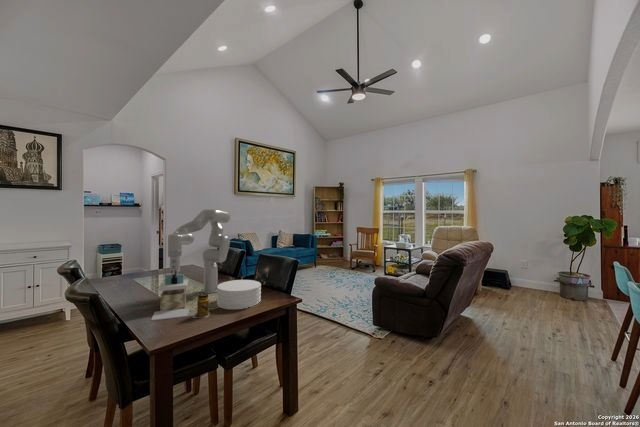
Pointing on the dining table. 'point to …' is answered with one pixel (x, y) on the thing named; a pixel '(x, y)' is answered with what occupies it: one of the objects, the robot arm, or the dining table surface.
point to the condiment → (202, 306)
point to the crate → (173, 299)
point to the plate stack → (238, 294)
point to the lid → (180, 284)
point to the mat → (170, 314)
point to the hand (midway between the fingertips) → (174, 282)
